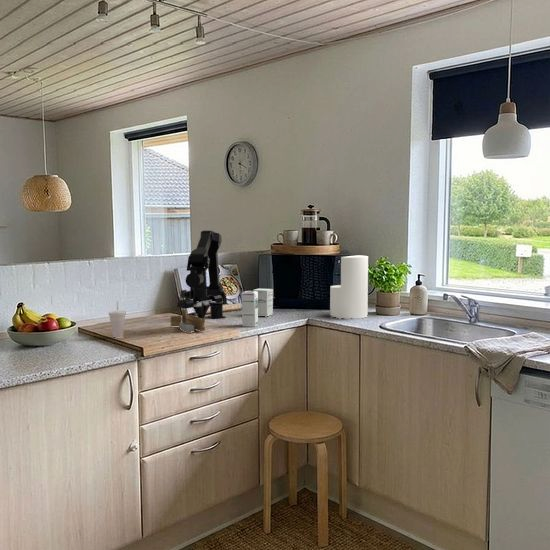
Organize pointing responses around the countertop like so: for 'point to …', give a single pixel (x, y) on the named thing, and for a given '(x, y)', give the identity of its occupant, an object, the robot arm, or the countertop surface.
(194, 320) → the gate
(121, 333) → the smoothie
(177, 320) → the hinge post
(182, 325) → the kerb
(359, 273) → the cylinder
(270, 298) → the supplement box
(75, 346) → the countertop surface
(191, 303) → the robot arm
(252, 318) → the white miniature cabinet
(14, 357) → the countertop surface
